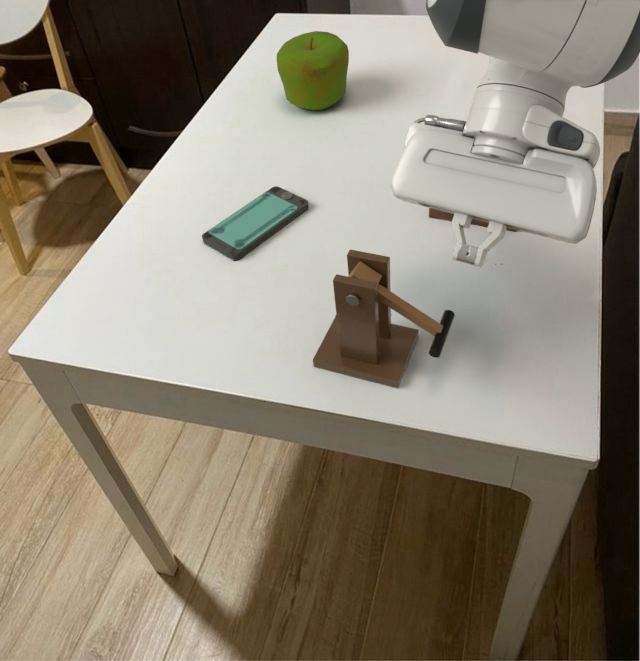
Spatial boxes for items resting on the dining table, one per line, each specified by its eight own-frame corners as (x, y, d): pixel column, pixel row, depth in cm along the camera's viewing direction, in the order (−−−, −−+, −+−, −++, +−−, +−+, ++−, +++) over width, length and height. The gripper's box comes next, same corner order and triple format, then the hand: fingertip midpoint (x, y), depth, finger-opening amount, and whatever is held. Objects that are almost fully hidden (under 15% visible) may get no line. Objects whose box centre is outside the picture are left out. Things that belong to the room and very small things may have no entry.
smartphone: (310, 200, 95) (233, 254, 88) (310, 207, 95) (235, 261, 88) (274, 183, 98) (198, 234, 91) (275, 190, 99) (200, 241, 92)
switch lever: (447, 322, 71) (460, 311, 69) (432, 362, 68) (445, 351, 66) (356, 261, 70) (366, 249, 68) (335, 299, 67) (345, 287, 65)
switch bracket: (418, 336, 76) (420, 252, 67) (397, 388, 72) (397, 305, 62) (338, 318, 80) (330, 235, 70) (313, 366, 75) (300, 284, 65)
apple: (297, 82, 122) (289, 20, 114) (360, 86, 119) (356, 23, 111) (272, 116, 115) (262, 52, 106) (339, 122, 111) (333, 56, 103)
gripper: (405, 101, 67) (365, 233, 68) (614, 140, 59) (563, 289, 60) (422, 120, 72) (385, 241, 74) (615, 158, 64) (568, 293, 66)
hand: (466, 263), depth 67 cm, fingers closed
